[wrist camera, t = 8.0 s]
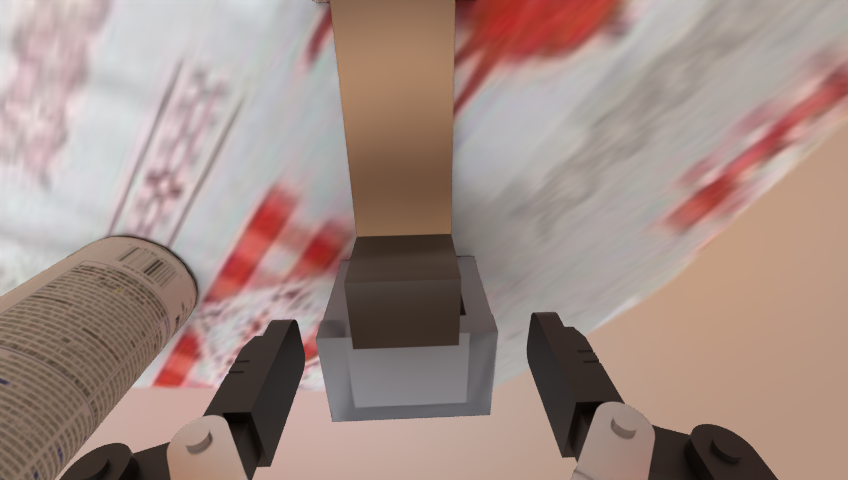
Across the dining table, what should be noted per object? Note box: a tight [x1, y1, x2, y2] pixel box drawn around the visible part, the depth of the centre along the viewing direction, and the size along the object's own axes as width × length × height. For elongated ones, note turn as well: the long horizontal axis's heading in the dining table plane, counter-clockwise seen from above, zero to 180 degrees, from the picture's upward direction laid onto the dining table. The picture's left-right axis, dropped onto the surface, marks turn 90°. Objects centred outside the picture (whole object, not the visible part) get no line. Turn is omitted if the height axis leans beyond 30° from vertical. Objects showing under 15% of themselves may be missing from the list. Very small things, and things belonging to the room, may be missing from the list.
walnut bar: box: [330, 0, 461, 350], centre depth 15 cm, size 20×4×8 cm, turn 1°
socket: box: [316, 256, 498, 422], centre depth 20 cm, size 8×6×7 cm
